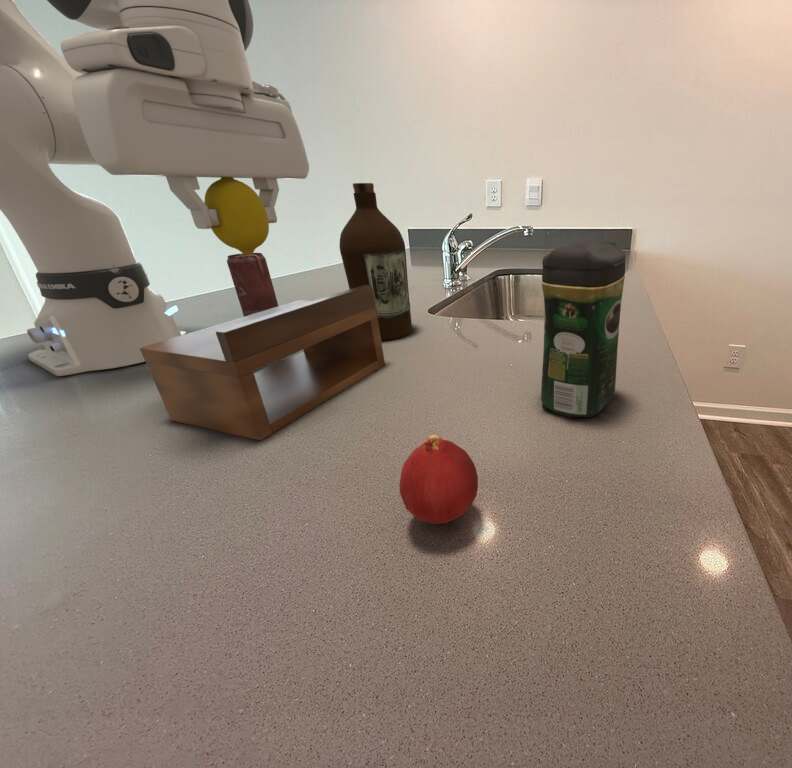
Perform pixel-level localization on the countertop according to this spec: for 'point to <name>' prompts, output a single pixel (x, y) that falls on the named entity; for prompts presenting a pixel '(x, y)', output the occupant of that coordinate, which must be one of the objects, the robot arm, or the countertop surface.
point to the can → (252, 282)
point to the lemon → (238, 214)
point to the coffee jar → (581, 326)
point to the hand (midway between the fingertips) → (239, 225)
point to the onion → (438, 481)
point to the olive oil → (377, 262)
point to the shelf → (262, 345)
